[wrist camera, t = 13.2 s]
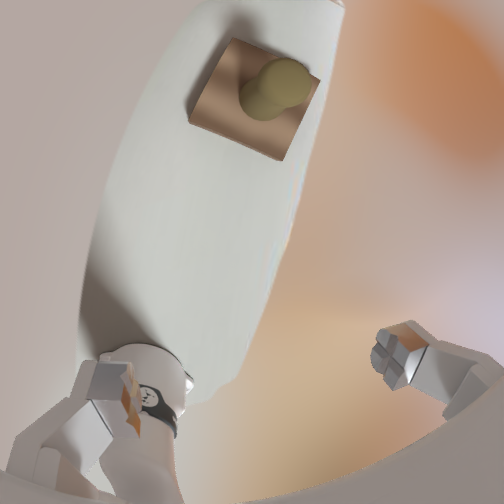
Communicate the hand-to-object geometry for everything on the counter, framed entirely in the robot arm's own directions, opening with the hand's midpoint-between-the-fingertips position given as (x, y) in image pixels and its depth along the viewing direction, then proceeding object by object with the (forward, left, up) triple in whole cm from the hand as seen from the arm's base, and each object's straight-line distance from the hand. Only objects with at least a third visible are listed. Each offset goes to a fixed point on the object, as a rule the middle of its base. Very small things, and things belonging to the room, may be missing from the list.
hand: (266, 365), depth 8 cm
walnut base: (+15, +1, -32) cm, 35 cm away
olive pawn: (+14, 0, -29) cm, 32 cm away
